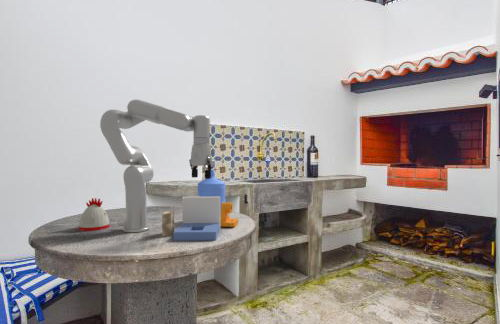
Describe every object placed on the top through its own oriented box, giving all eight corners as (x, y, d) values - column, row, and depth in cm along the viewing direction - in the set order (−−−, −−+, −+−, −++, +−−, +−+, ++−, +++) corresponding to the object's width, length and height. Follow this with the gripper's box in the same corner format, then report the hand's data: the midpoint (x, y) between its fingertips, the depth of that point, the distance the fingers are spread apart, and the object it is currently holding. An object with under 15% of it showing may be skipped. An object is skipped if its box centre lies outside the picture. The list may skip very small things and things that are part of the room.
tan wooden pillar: (162, 235, 138) (162, 213, 138) (165, 232, 144) (165, 211, 144) (171, 235, 138) (170, 213, 138) (174, 232, 144) (174, 211, 144)
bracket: (233, 228, 153) (233, 204, 152) (219, 227, 154) (219, 203, 154) (238, 223, 163) (238, 201, 163) (225, 223, 165) (225, 200, 164)
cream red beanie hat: (100, 231, 148) (99, 200, 148) (72, 231, 149) (72, 200, 149) (114, 224, 162) (114, 196, 162) (89, 224, 163) (89, 196, 162)
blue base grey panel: (173, 240, 130) (173, 202, 130) (183, 229, 150) (183, 196, 150) (215, 240, 131) (215, 202, 130) (220, 229, 151) (220, 196, 150)
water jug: (214, 216, 185) (214, 169, 184) (231, 219, 173) (230, 170, 173) (192, 219, 174) (191, 170, 174) (208, 224, 162) (207, 171, 162)
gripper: (184, 141, 149) (183, 177, 149) (207, 141, 137) (206, 179, 137) (196, 142, 154) (196, 176, 155) (219, 141, 143) (219, 178, 143)
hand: (201, 177), depth 146 cm, fingers open, 9 cm apart
